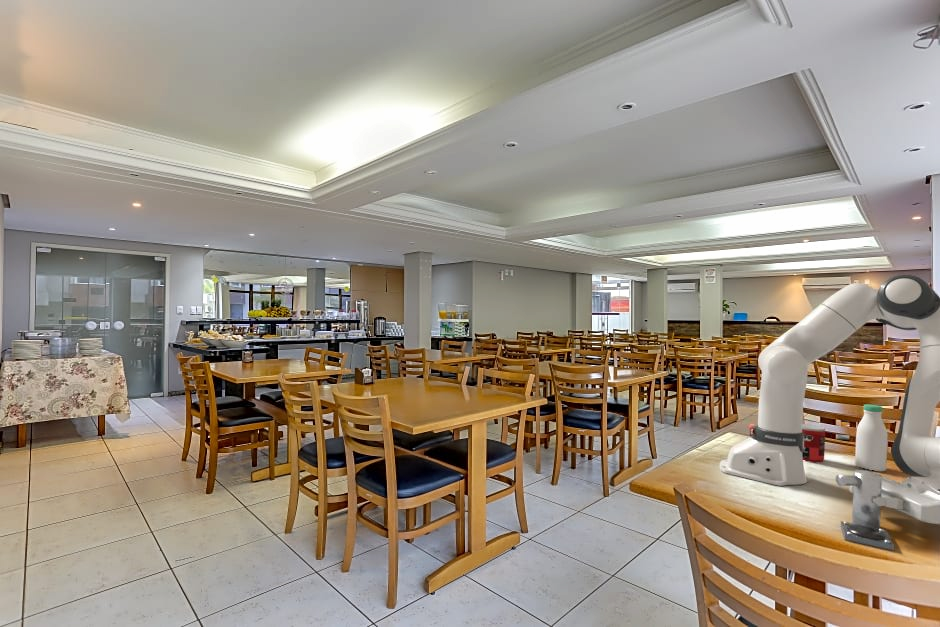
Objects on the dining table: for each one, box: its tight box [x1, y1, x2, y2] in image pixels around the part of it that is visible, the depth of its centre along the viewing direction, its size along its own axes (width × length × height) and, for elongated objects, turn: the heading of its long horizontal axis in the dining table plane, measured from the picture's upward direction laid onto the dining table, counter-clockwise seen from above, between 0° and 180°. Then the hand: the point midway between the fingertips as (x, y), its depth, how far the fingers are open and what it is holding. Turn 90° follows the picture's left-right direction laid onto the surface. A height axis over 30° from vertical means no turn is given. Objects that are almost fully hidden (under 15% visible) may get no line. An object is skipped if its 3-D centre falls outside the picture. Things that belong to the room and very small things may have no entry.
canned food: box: [802, 423, 826, 463], centre depth 161 cm, size 8×8×11 cm
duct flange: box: [840, 520, 895, 551], centre depth 105 cm, size 8×8×2 cm
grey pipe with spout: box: [835, 469, 883, 529], centre depth 111 cm, size 9×5×12 cm, turn 90°
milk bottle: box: [854, 403, 889, 472], centre depth 153 cm, size 8×8×20 cm
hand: (863, 495), depth 111 cm, fingers closed on grey pipe with spout, 5 cm apart
